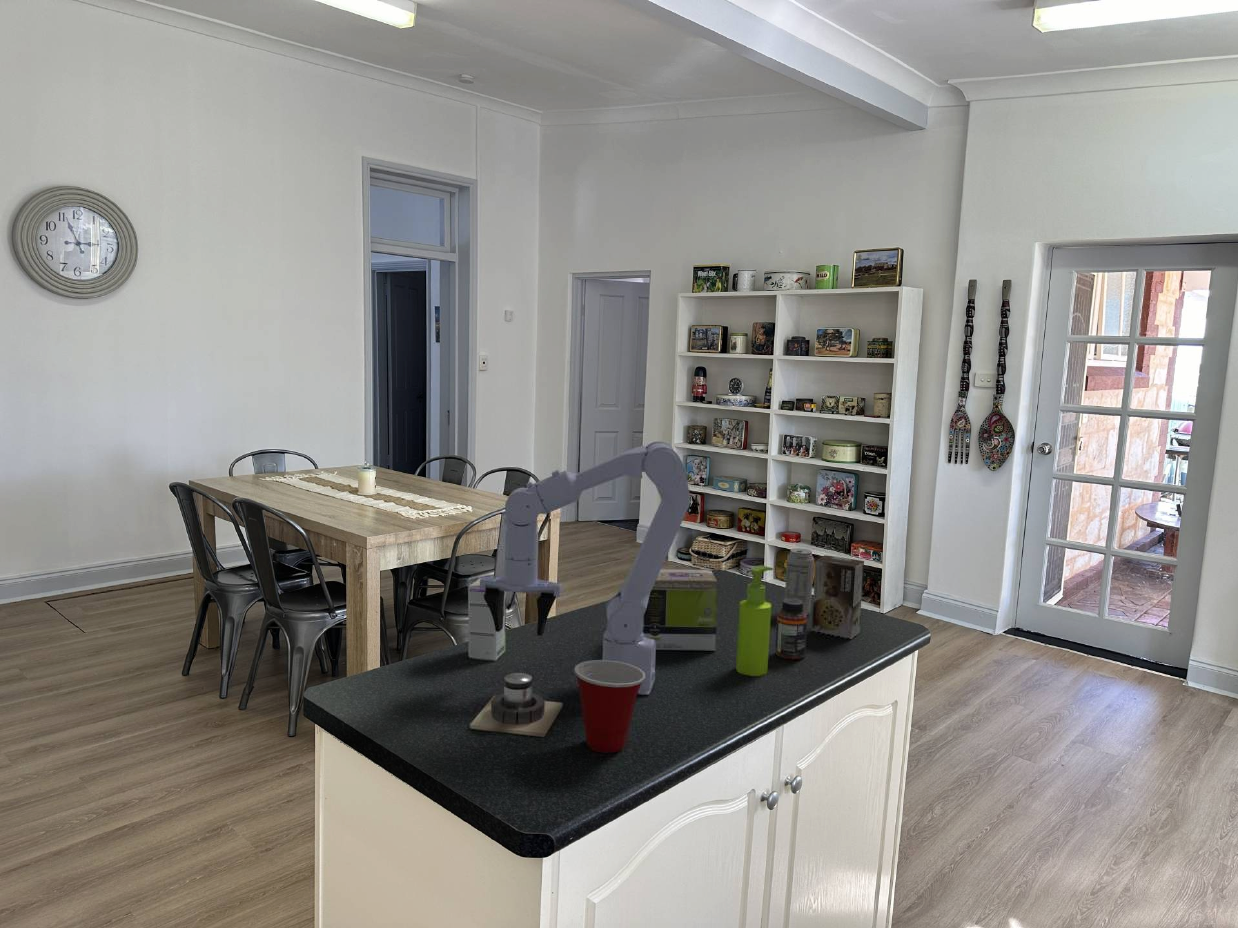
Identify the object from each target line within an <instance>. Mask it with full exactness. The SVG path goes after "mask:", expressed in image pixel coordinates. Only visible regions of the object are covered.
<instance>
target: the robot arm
mask: <svg viewBox="0 0 1238 928" xmlns="http://www.w3.org/2000/svg"><path fill="white" fill-rule="evenodd" d="M643 473H645V475H646V476H647V478H648V479H649V480H650V481H651V482H652V484H654V486H655V487H656V490H657V493H658V494H659V497H660V502H659V505H658V507H657V509H656V512H655V514H654V516H653V518H652V521H651V522H650V525H649V527H648V530H647V532H646V533H645V537H644V539H643V541H642V543H641V545H640V548H639V550H638V552H637V554H636V557H635V559H634V561H633V564H631V565H632V566H631V568H630V570H629V571H628V574H627V576H626V579H625V580H624V581H623V583H622V584H621V585H620V587H619V590H617V592H616V594H615V595H613V596H612V597H611V598H610V599H609V600H608V602H607V604H606V607H605V614H606V618H607V623H606V626H607V627H606V630H605V631H603V639H602V640H603V641H602V660H608V661H617V662H622V663H626V664H630V665H632V666H635V667H637V668H639V669H641V670H642V671H643V672H644V673H645V680H644V681H643V682H642V683H641V685H640V689H639V690H638V694H637V695H643V696H644V695H645V696H649V695H650V693H651V691H652V688H653V686H654V682H655V679H656V670H655V669H656V653H657V652H656V651H657V650H656V642H655V640H653V639H649V638H646V637H644V634H643V632H642V631H643V626H644V623H643V616H644V613H645V611H646V608H647V604H648V600H649V595H650V592H651V590H652V588H653V585H654V583H655V581H656V579H657V576H658V574H659V572H660V570H661V569H663V568H662V567H663V565H664V563H665V560H666V558H667V556H668V555H669V552H670V549H671V547H672V545H673V543H674V541H675V539H676V536H677V534H678V532H679V529H680V528H681V525H682V523H683V520H684V519H685V516H686V514H687V511H688V509H689V507H690V505H691V495H690V490H689V489H690V488H689V483H688V477H687V469H686V466H685V465H684V462H683V460H682V459H681V457H680V456H679V454H678V453H677V452H676V451H675V450H674V448H673V447H672V446H671V444H669V443H667V442H664V441H659V440H657V441H653V442H650V443H649V444H647V445H646V446H645V445H641V446H637V447H633V448H631V449H629V450H625V451H623V452H621V453H618V454H616V455H615V456H612V457H610V458H608V459H605V460H603V461H601V462H599V463H597V464H595V465H592V466H590V467H588V468H585V469H584V470H581V471H578V472H577V473H574V472H571V471H569V470H564V471H561V472H560V470H559V469H556V470H554V471H552V472H551V476H548V477H546V478H544V479H542V480H539V481H537V482H534V483H533V481H530V482H527V483H526V487H519V488H516V489H514V490H513V491H512V492H511V493H510V494H509V495H508V498H507V500H506V501H505V506H504V512H505V515H506V517H507V518H506V522H505V527H506V531H505V539H504V540H505V544H504V545H505V547H504V576H499V577H498V576H483V577H480V578H481V579H480V590H486V591H485V594H484V600H485V601H486V603H487V605H488V607H489V609H490V611H491V614H492V617H493V621H494V625H495V631H496V632H499V631H500V630H501V629H502V628H503V603H504V594H505V591H506V592H512V593H522V594H523V593H525V594H536V595H540V596H538V597H537V598H536V605H537V625H536V626H537V629H536V634H537V636H539V637H540V636H543V634H545V629H546V624H547V620H548V617H549V614H550V612H551V609H552V606H553V605H554V602H555V601H556V598H560V597H561V596H562V594H563V583H560V582H552V581H550V580H549V581H548V580H544V579H543V580H542V579H538V567H539V566H538V565H539V564H538V562H539V561H538V560H539V559H538V558H539V557H538V556H539V531H538V516H540V515H547V514H549V513H551V512H554V511H557V510H559V509H562V508H564V507H567V506H569V505H571V504H573V503H575V502H578V501H579V500H580V497H581V495H582V493H583V491H587V490H588V489H592V488H595V487H598V486H599V485H602V484H604V483H607V482H610V481H613V480H615V479H618V478H621V477H623V476H625V477H626V476H628V477H632V478H638V479H643Z"/></svg>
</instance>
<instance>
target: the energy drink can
mask: <svg viewBox="0 0 1238 928" xmlns="http://www.w3.org/2000/svg"><path fill="white" fill-rule="evenodd" d="M814 558H815V557H813V554H812V551H811V550H810V549H806V548H791V549H790V552H789V554H787V558H786V570H785V571H786V572H785V589H784V599H788V598H792V599H798V600H801V601H803V611H804V612H805V613H806V614H807V615H808V616H809V614H810V613H811V608H812V607H811V606H812V591H813V581H814V580H813V577H814V566H815V565H814V564H815V561H814V560H815V559H814Z"/></svg>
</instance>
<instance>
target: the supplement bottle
mask: <svg viewBox="0 0 1238 928" xmlns="http://www.w3.org/2000/svg"><path fill="white" fill-rule="evenodd" d="M775 628H776V629H775V630H776V632H775V646H774V647H775V648H774V649H775V655H776V656H777V657H778V658H780V659H781V658H782V659H785V660H789V659H791V660H790V661H793V660H794V659H796V660H801V659H803V658H804V657H805V656H806V647H807V646H806V645H807V644H806V643H807V641H806V640H807V630H808V629H807V628H808V616H807V614H806V613H805V612H804V611H803V601H801V600H798V599H792V598H788V599H785V598H784V599H783V600H782V607H781V609H779V610H778V611H777V614H776V627H775ZM794 661H795V660H794Z"/></svg>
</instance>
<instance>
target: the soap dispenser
mask: <svg viewBox="0 0 1238 928" xmlns="http://www.w3.org/2000/svg"><path fill="white" fill-rule="evenodd" d="M773 569H774V568H773V567H771V566H766V565H755V566H753V567H751V568H749V569H748V572H749V573H750V574H752V578H751V579H752V580H751V582H749V583H748V584H747V587H746V588H747V589H746V599H743V600H740V601H739V609H738V610H739V612H738V625H737V626H738V629H737V644H736V665H735V670H736V672H738V673H739V674H741V675H745V676H748V675H749V676H750V677H760V676H761V675H762V676H765V675H767V673H768V665H769V664H768V663H769V649H770V632H771V619H772V618H771V615H772V611H771V610H772V604H771V603H770V602H768V601H766V589H767V587H766V585H764V584H763V583H762V578H763V577H762V576H763V573H764V572H767V571H773ZM764 674H765V675H764Z"/></svg>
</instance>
